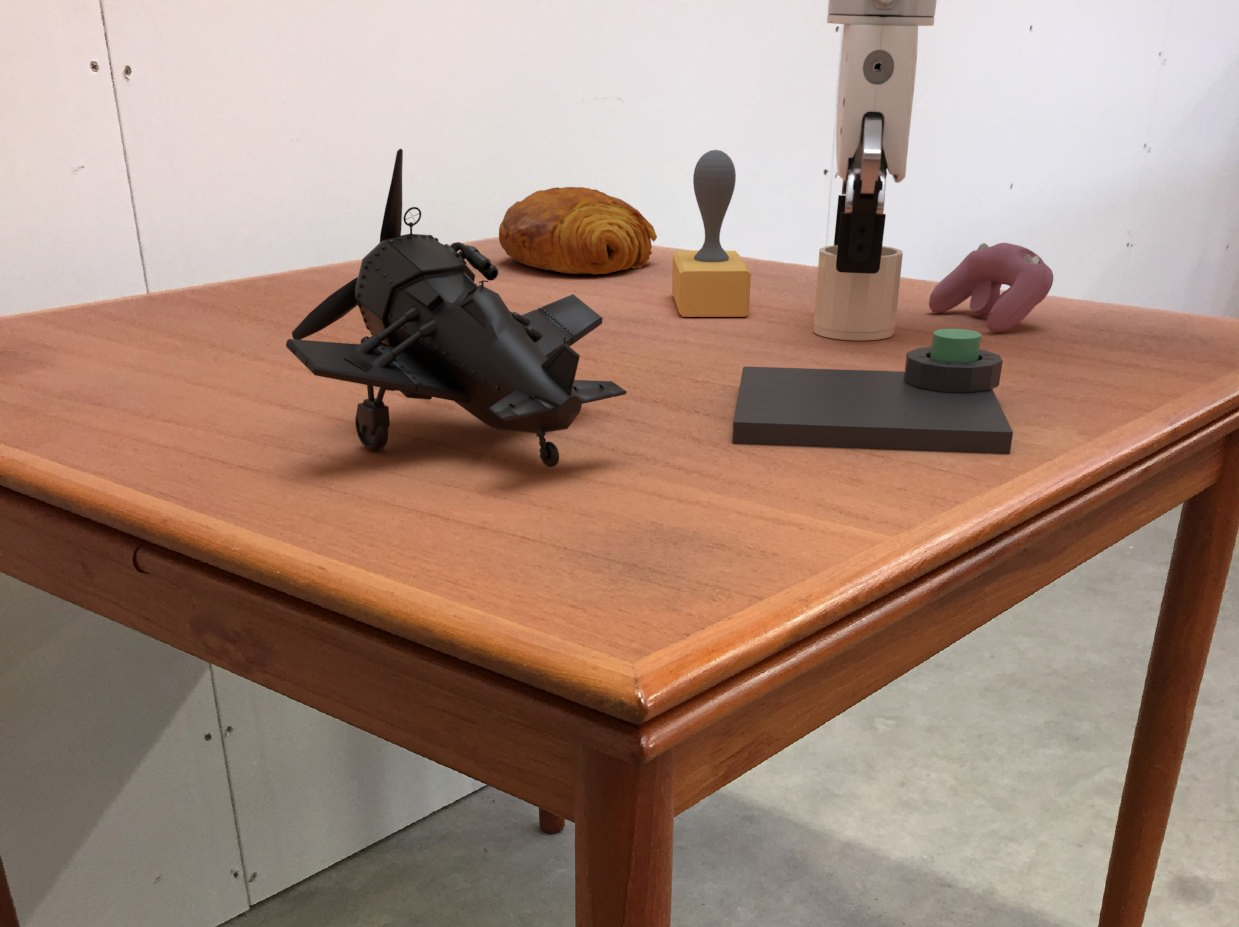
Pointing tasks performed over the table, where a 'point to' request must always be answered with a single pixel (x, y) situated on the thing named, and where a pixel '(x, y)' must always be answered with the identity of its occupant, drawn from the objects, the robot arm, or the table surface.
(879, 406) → the scale
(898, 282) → the cup
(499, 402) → the airplane toy
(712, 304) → the rubber stamp
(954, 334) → the tare button
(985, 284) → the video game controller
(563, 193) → the croissant
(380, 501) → the table surface
